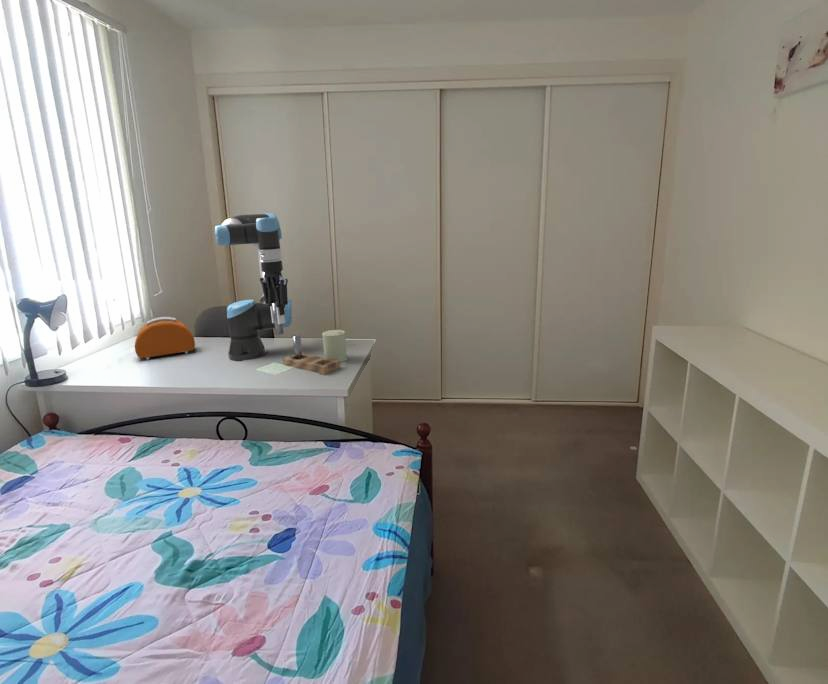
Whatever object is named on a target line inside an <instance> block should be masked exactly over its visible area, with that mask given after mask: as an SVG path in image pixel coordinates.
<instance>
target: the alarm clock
mask: <svg viewBox="0 0 828 684" xmlns="http://www.w3.org/2000/svg"><path fill="white" fill-rule="evenodd" d="M194 337H195V336H194V334H193V332H192V330H190V328H189V327H188V326H187V325H186V324H185V323H184V322H181V321H179V320H177V318H176V317H171V316H160V317H155V318H153V319H152V318H151V319H149V320H148V321H146V324H145V325H144V326H142V327H141V328H140V330H139V331H138V333H137V336H136V338H135V341H134V350H135V354H136V356H137V357H138V358H140V359H146V360H147V361H150V358H152V357H158V356H165V355H173V354H178V353H180V354H181V353H185V355H187V354H189V352H190V351H191V352H193V350H194V349H195V348H196V342H195V338H194Z"/></svg>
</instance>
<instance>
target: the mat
mask: <svg viewBox="0 0 828 684" xmlns="http://www.w3.org/2000/svg"><path fill="white" fill-rule="evenodd" d="M291 369H295V368H294V367H290V366H285V365H283V363H278V362H272V363H270V364H267V365H264V366H262V367H261V366H260V367H259V368H255V369H254V371H257V372H262V373H264V374H265V373H266V374H269V375H274V376H277V375H279V374H282V373H284V372H286V371H289V370H291Z"/></svg>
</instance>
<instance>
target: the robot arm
mask: <svg viewBox="0 0 828 684" xmlns="http://www.w3.org/2000/svg"><path fill="white" fill-rule="evenodd" d="M214 234H215V240H216V241H215V242H216V244H217V246H225V247H227V246H235V245H236V246H237V245H238V246H239V245H253V247H255V248H256V253H257V261H258V268H259V269H258V270H259V276H260V278H259V281H260V284H261V290H262V296H260V298H259V302H256V301H255V300H254V299H245V300H240V301H239V300H238V301H236V302H233V303H231V304H229V305H228V306H227V307H226V314H227V315H226V318H227V321H228V330H229V336H230V341H229V342H230V343H229V347H228V352H227V353H228V359H230V360H231V361H238V362H239V361H240V362H241V361H249V360H252V359H253V360H254V359H257V358H261V357H263V356H264V355H266V347H265V345H264V343H263V341H262V339H261V337H260V332H259V331H265V330H275V325H274V316H273V308H272V303H273V302H277V305H278V306H276V310H277V319H278V324H282V323H283V328H289V327H290V326H291V325H292V323H293V322H292V321H293V317H292V315H293V311H292V310H293V309H292V307H293V305H292V304H293V301H292V299H289V298H288V282H289V280H288V278H284V277H283V274H282V271H283V270H284V267H283V261H282V260H281V259H282V258H283V257H282V250H281V240H282V236H283V235H282V230H281V225H280V221H279V219H278V216H277V214H275V213H267V212H266V213H256V214H255V213H253V214H238V215H234V216H231V217H228V218H227V219H225V220H224V221H223V222H222V223H221V224H220V225H215V227H214Z"/></svg>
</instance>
